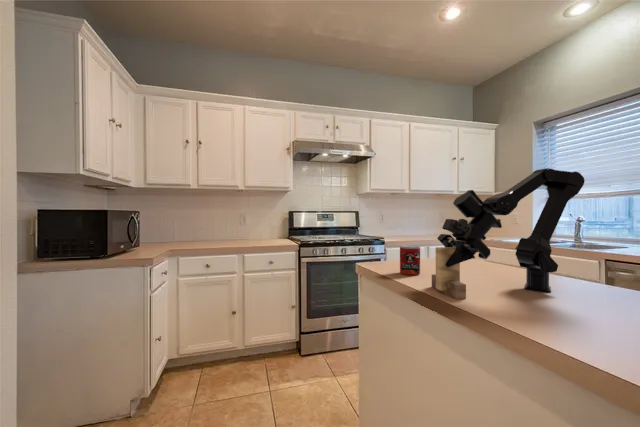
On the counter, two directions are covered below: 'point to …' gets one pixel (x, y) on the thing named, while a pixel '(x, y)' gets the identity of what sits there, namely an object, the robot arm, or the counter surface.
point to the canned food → (410, 260)
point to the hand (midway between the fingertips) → (443, 265)
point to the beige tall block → (445, 268)
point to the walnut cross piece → (452, 288)
